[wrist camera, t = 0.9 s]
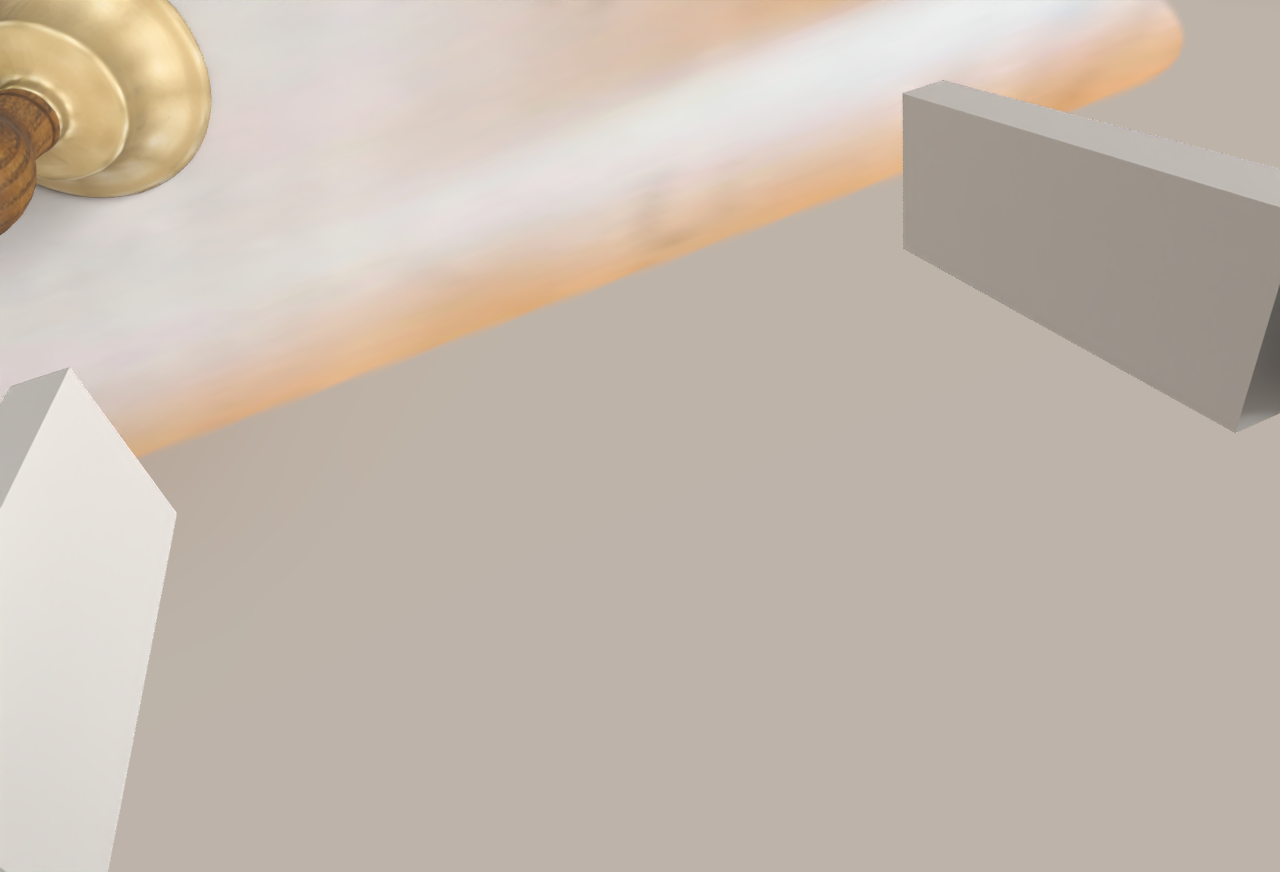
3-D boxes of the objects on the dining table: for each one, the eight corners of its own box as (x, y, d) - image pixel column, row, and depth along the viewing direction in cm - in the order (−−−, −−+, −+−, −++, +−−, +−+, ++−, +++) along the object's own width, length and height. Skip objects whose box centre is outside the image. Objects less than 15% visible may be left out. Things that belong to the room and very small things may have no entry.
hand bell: (257, 146, 31) (233, 309, 18) (42, 230, 30) (-141, 464, 17) (114, -105, 26) (-56, -119, 13) (-150, -14, 25) (-603, 65, 12)
